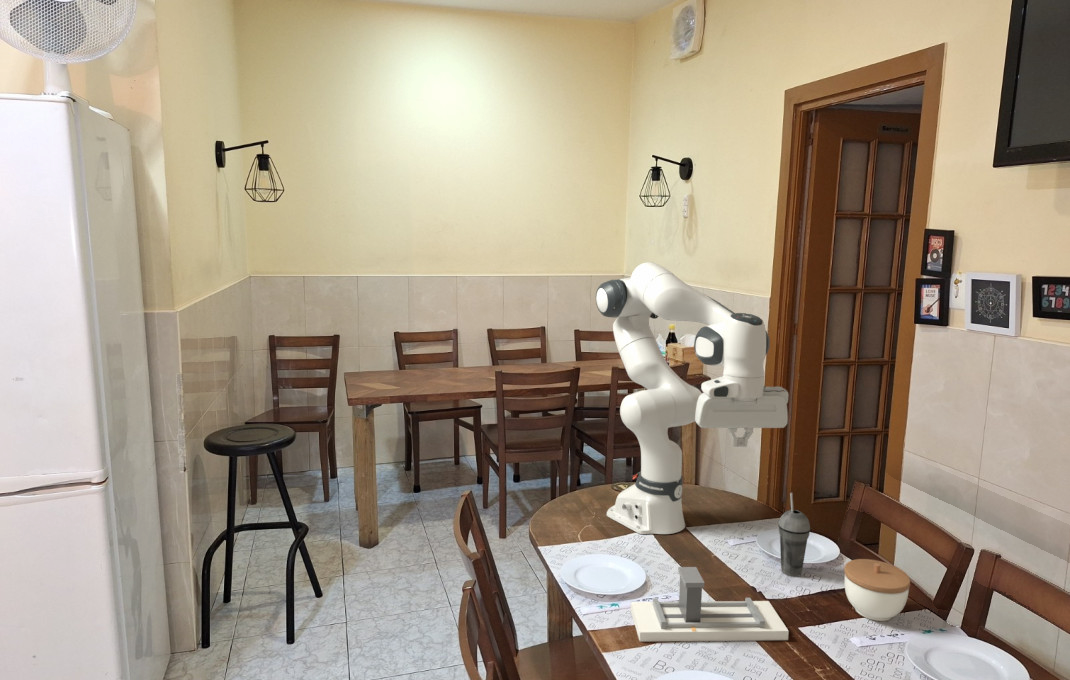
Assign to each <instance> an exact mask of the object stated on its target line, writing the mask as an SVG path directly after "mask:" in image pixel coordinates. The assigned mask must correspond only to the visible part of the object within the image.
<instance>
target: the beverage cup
mask: <svg viewBox="0 0 1070 680" xmlns="http://www.w3.org/2000/svg"><path fill="white" fill-rule="evenodd" d="M789 496H790V509H789V510H787V511H785V512H784V513H783V514H782V515H781V516H780V517H779V521H778V523H777V525H778V532H779V533H778V534H779V542H780V543H779V544H780V548H779V549H780V550H779V551H780V568H781V570H780V572H781V573H782V574H784V575H786V576H787V577H791V578H797V577H801V575H802V571H803V568H804V567H803V566H804V562H805V561H804V560H805V556H806V555H805V554H806V550H807V543H808V539H809V536H810V532H811V530H812V529H811V525H810V521H809V518H808V517H807V516H806V514H804V513H803V512H802V511H799V510H797V509H794V499H793V498H794V497H793V496H794V495H793V492H790V493H789Z"/></svg>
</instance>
